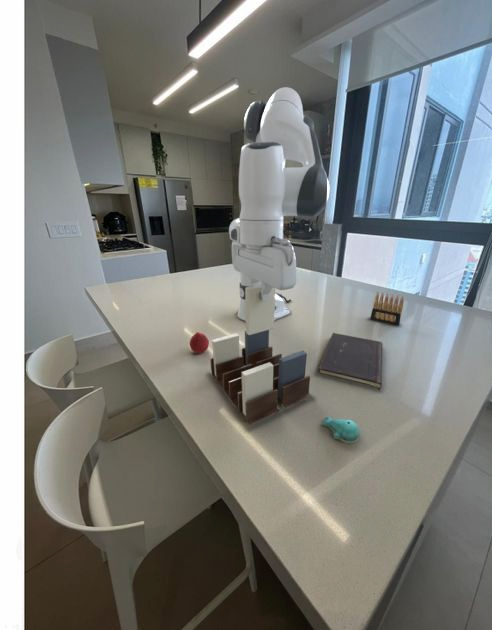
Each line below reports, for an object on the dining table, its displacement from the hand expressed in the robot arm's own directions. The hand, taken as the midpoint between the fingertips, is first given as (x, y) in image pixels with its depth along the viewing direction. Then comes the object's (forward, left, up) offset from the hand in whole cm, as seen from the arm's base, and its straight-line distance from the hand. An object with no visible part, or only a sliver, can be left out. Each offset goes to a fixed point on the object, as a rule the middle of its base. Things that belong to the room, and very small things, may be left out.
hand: (260, 298), depth 59 cm
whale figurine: (-6, +22, -25) cm, 33 cm away
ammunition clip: (-63, -7, -25) cm, 68 cm away
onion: (+8, -23, -25) cm, 35 cm away
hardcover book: (-30, +5, -25) cm, 39 cm away
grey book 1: (-4, -8, -23) cm, 25 cm away
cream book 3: (+5, +8, -23) cm, 25 cm away
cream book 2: (0, 0, -8) cm, 8 cm away
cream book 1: (+5, -8, -23) cm, 25 cm away
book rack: (+1, 0, -24) cm, 24 cm away
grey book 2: (-4, +8, -23) cm, 25 cm away
